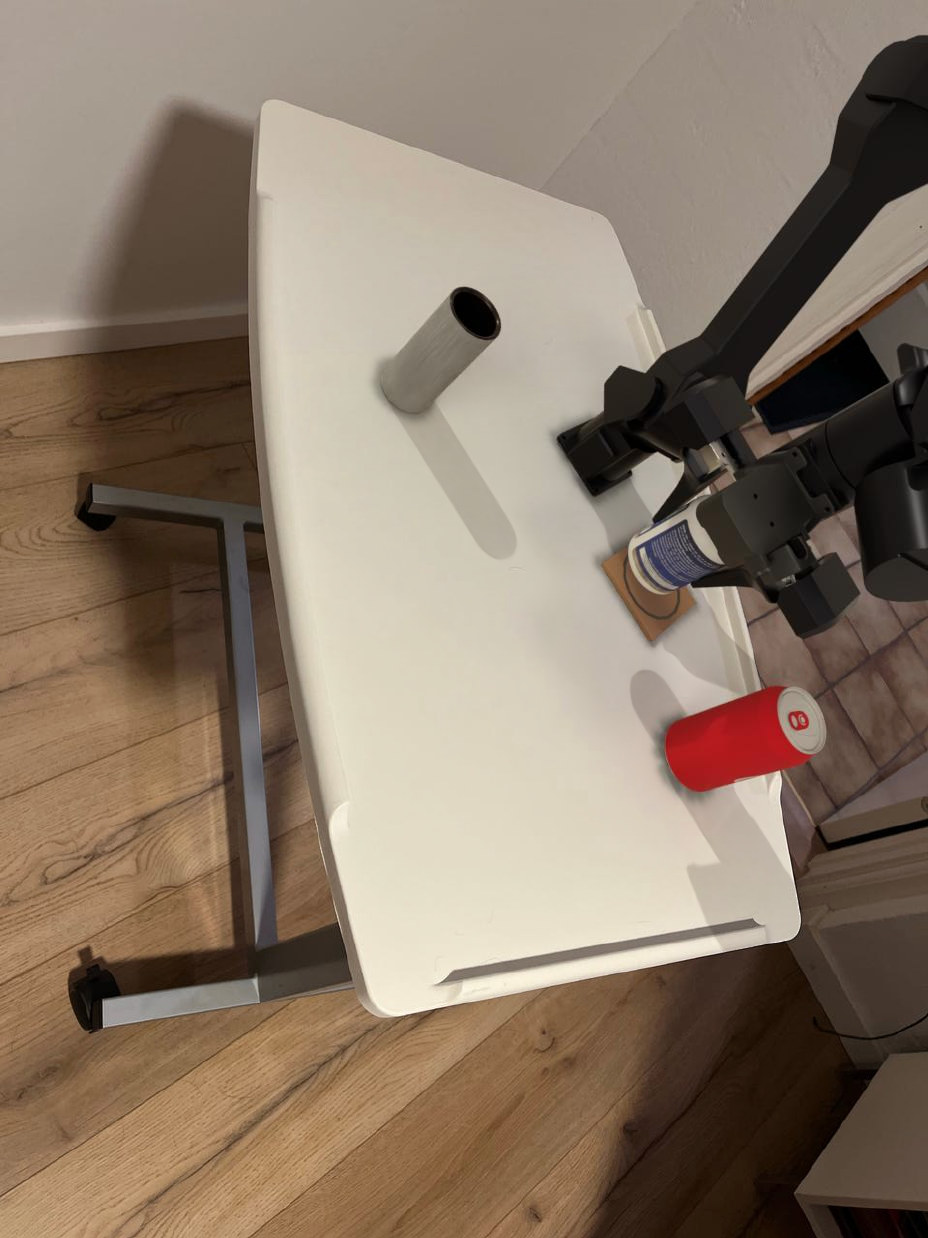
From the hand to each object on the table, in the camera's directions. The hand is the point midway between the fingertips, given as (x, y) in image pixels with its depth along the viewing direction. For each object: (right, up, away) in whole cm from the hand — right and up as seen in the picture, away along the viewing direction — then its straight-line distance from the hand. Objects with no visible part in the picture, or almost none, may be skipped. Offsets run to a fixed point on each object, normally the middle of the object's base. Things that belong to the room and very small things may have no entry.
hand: (674, 551), depth 69 cm
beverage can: (+2, -17, +7) cm, 19 cm away
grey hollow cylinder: (-21, +13, +4) cm, 25 cm away
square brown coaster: (+1, -2, +12) cm, 12 cm away
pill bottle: (-1, -1, +2) cm, 3 cm away
